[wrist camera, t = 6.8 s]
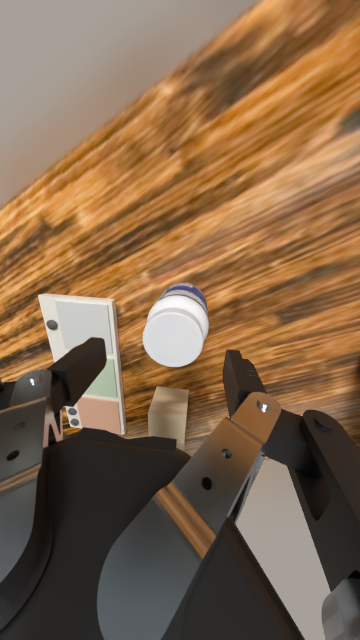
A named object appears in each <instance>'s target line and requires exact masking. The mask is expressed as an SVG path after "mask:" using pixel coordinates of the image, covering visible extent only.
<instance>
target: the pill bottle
mask: <svg viewBox="0 0 360 640" xmlns="http://www.w3.org/2000/svg"><path fill="white" fill-rule="evenodd" d="M208 329H209V321H208V312H207V303H206V299H205V296H204V294H203V293H202V292H201V290H200V289H199V288H197V287H196V286H194V285H192V284H189V283H177V284H174V285H172V286H171V287H169V288H168V289H167V290H166V291H165V292H164V293H163V294H162V296H161V297H160V298H159V300H158V301H157V302H156V303H155V304H154V305H153V307H152V308H151V310H150V312H149V314H148V317H147V325H146V327H145V329H144V332H143V344H144V347H145V350H146V352H147V353H148V355H149V356H150V357H151V358H152V359H153V360H155V361H156V362H158V363H160V364H162V365H164V366H168V367H181V366H185V365H187V364H189V363H191V362H193V361H194V360H195V359H196V358H197V357H198V356H199V354H200V352H201V350H202V347H203V342H204V340H205V339H206V336H207V334H208Z"/></svg>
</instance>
